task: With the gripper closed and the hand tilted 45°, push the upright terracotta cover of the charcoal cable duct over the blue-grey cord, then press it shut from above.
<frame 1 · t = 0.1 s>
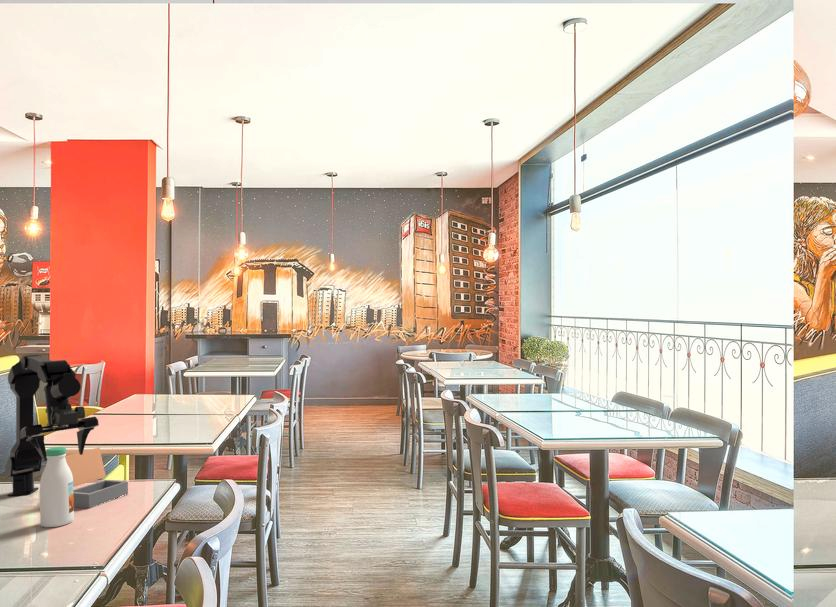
hand: (63, 457, 171), 15 cm above the table, tool pointing down, fingers open, 9 cm apart
milk bottle: (57, 524, 162), on the table
duct cover: (82, 467, 185), point 9 cm above the table, hinge at 105.0°
cable duct: (98, 500, 182), on the table
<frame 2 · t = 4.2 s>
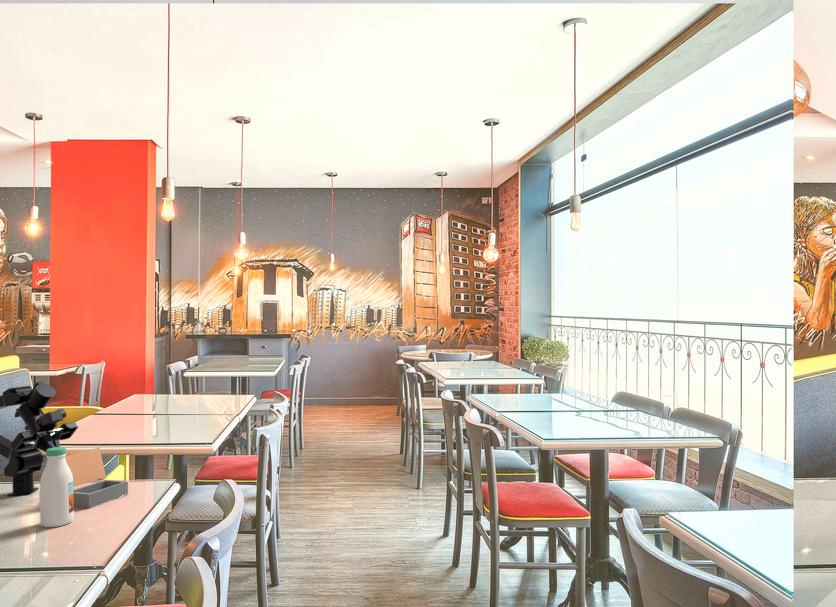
hand: (59, 456, 187), 12 cm above the table, tool tilted 45°, fingers closed
nothing on the table moved.
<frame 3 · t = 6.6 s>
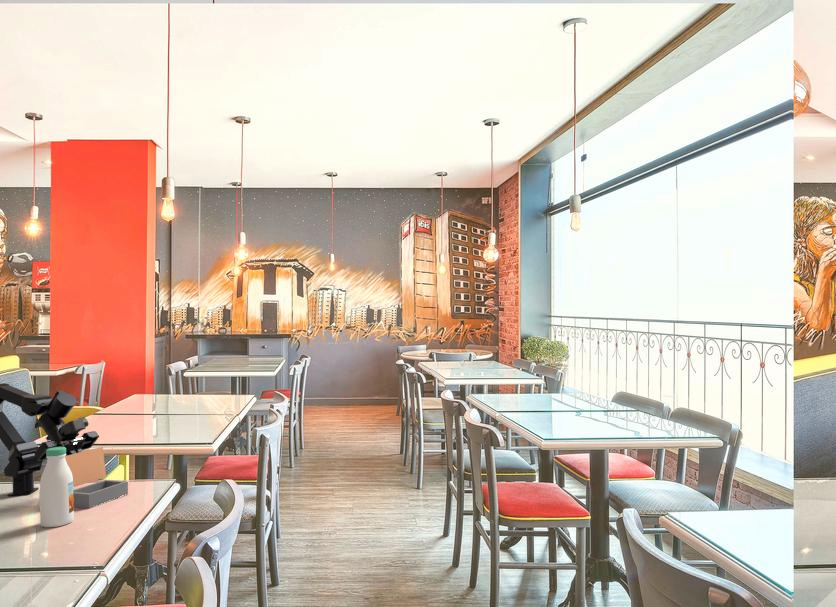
hand: (82, 465, 185), 10 cm above the table, tool tilted 45°, fingers closed, pressing on duct cover
duct cover: (84, 467, 184), point 10 cm above the table, hinge at 96.5°, touching gripper
everything else where it was.
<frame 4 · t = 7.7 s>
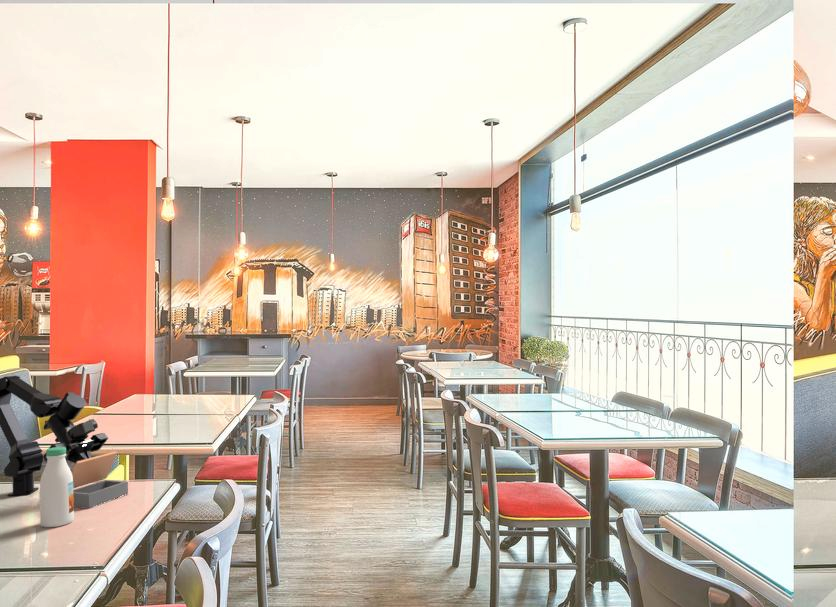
hand: (91, 468, 183), 9 cm above the table, tool tilted 45°, fingers closed, pressing on duct cover
duct cover: (92, 470, 183), point 9 cm above the table, hinge at 59.6°, touching gripper
everything else where it was.
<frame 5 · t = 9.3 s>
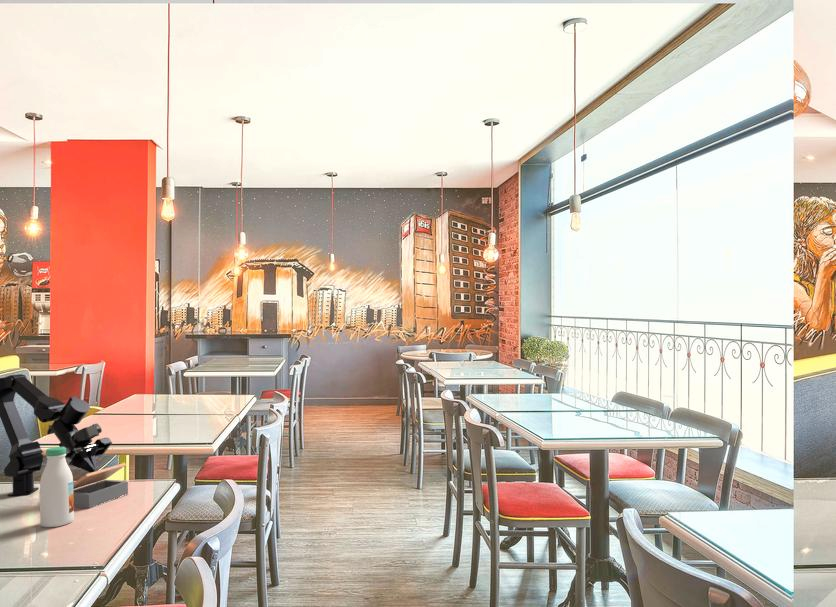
hand: (96, 472, 183), 8 cm above the table, tool tilted 45°, fingers closed
duct cover: (96, 476, 183), point 7 cm above the table, hinge at 30.2°
everything else where it was.
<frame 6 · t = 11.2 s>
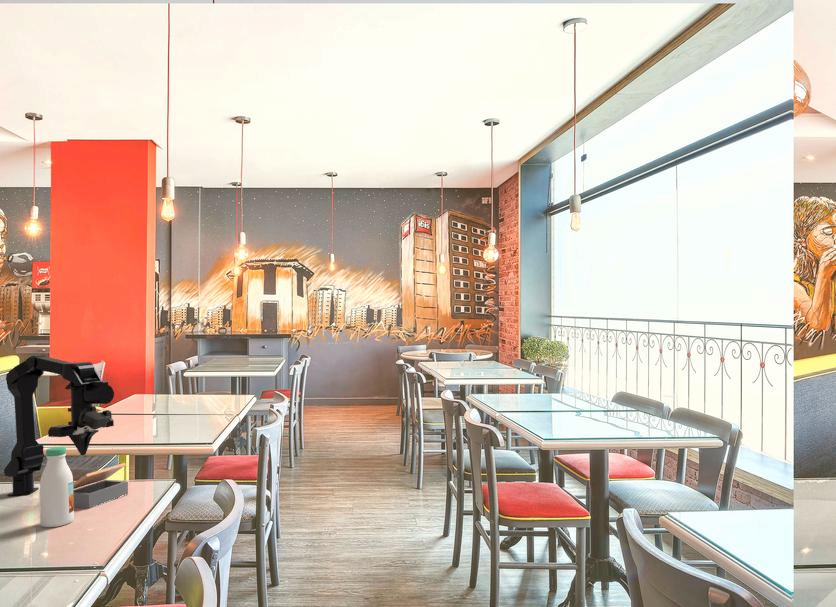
hand: (83, 455, 185), 13 cm above the table, tool pointing down, fingers closed
nothing on the table moved.
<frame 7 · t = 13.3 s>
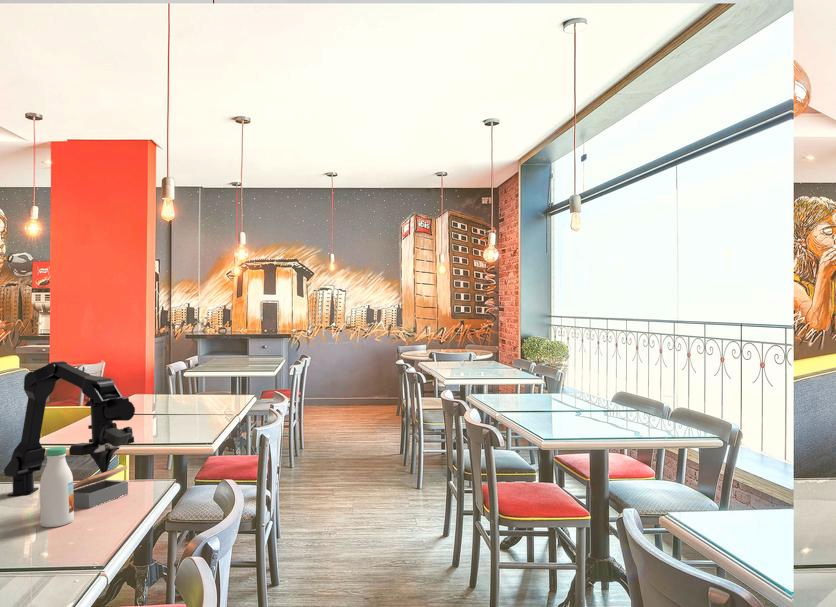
hand: (104, 472, 181), 8 cm above the table, tool pointing down, fingers closed, pressing on duct cover
duct cover: (97, 478, 182), point 7 cm above the table, hinge at 24.1°, touching gripper
everything else where it was.
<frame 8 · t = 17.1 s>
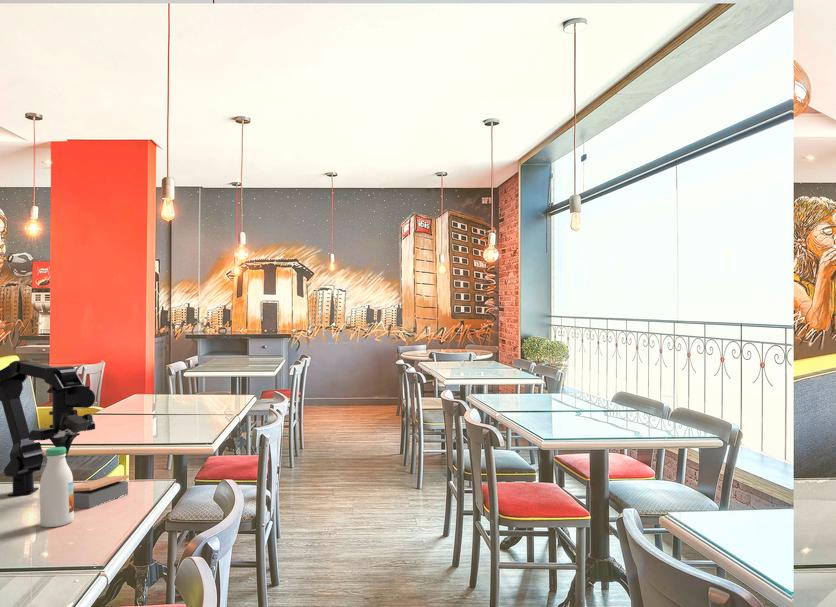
hand: (64, 457, 187), 12 cm above the table, tool pointing down, fingers closed
duct cover: (98, 483, 182), point 5 cm above the table, hinge at 6.6°
everything else where it was.
at the end: duct cover at +7° (first picture: +105°); milk bottle moved 0.2 cm from its start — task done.
